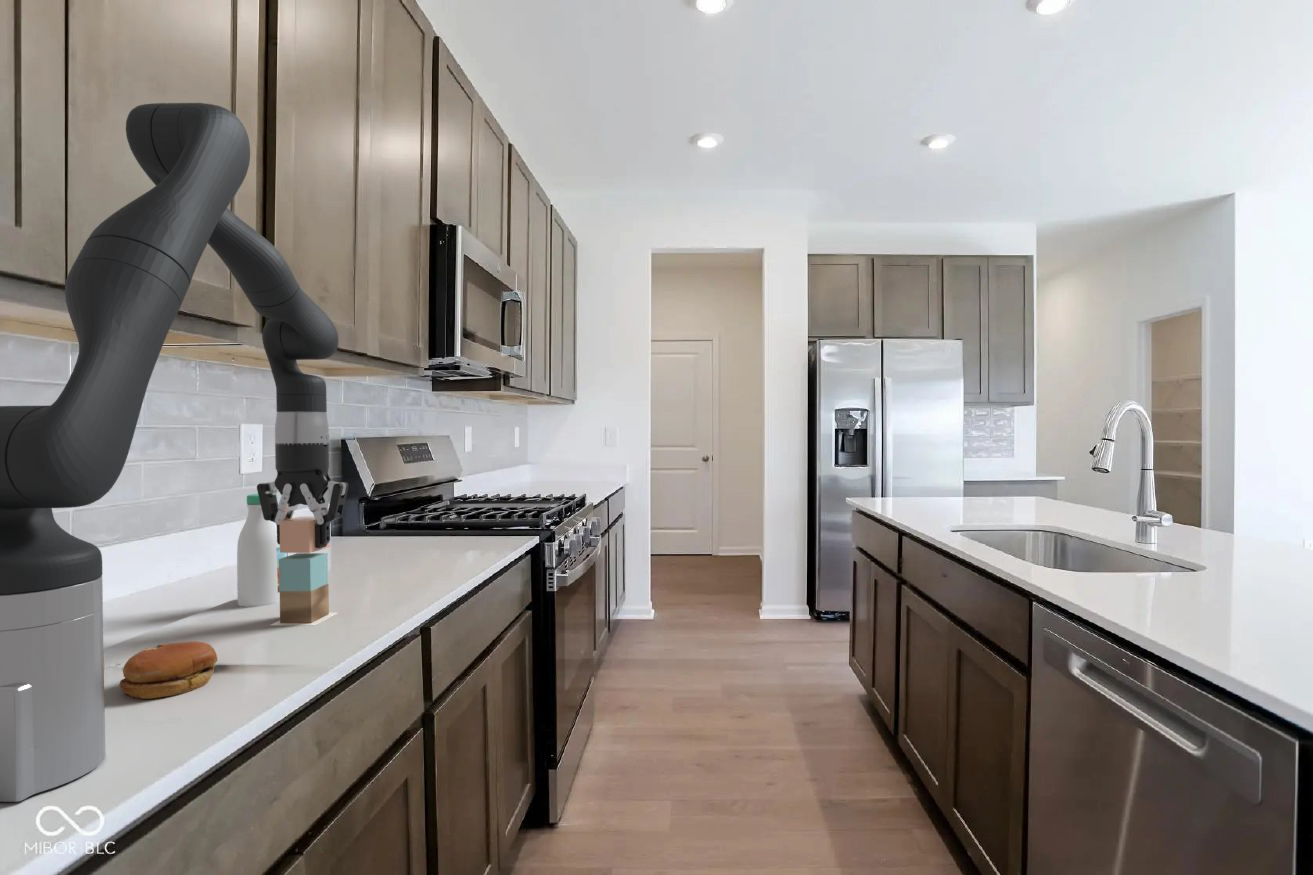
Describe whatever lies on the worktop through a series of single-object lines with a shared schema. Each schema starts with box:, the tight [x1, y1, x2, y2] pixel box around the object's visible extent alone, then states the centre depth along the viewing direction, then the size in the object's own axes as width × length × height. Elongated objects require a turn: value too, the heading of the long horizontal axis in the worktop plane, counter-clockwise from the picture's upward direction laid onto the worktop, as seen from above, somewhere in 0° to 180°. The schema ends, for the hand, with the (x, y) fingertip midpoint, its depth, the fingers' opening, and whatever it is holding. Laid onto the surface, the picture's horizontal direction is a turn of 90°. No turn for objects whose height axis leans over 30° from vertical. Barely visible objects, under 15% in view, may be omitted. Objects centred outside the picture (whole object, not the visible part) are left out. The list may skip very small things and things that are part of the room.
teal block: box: [279, 552, 329, 591], centre depth 104 cm, size 5×5×5 cm
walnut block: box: [279, 583, 330, 623], centre depth 104 cm, size 5×5×5 cm
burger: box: [118, 641, 218, 700], centre depth 80 cm, size 10×9×5 cm
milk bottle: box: [236, 493, 289, 608], centre depth 115 cm, size 8×8×20 cm
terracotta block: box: [280, 516, 331, 554], centre depth 104 cm, size 5×5×5 cm
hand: (303, 546), depth 103 cm, fingers closed on terracotta block, 5 cm apart
